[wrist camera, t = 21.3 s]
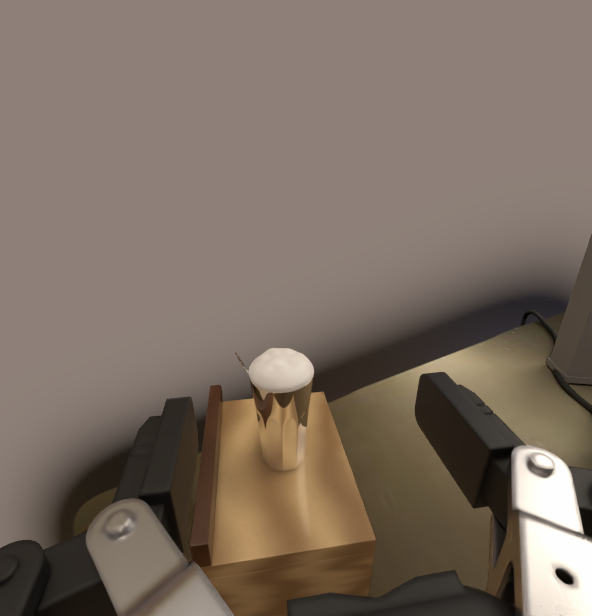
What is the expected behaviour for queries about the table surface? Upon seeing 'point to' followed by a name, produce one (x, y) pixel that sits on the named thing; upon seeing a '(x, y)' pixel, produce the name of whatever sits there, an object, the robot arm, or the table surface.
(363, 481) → the table surface
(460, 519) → the table surface
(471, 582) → the table surface
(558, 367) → the cassette tape recorder
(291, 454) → the milkshake
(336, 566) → the block
